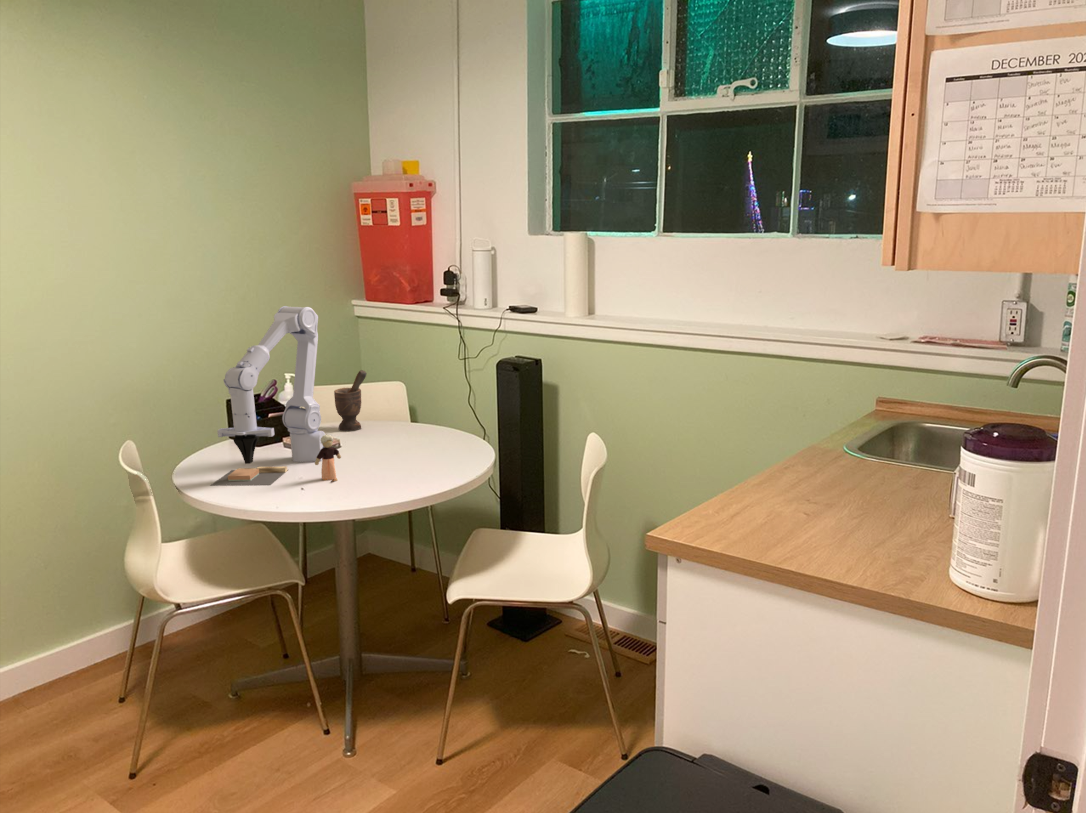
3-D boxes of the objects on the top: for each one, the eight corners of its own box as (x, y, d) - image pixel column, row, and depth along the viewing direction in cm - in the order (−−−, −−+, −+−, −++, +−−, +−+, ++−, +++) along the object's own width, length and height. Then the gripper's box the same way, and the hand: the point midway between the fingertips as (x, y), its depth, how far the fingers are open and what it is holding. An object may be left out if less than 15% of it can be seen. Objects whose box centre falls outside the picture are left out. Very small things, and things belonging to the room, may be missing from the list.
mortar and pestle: (375, 425, 289) (371, 366, 285) (368, 432, 281) (364, 371, 276) (341, 426, 290) (337, 367, 286) (333, 432, 282) (328, 371, 277)
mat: (289, 472, 238) (288, 469, 238) (270, 488, 224) (270, 485, 224) (232, 472, 239) (231, 470, 239) (210, 488, 225) (209, 485, 225)
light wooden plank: (288, 469, 238) (288, 465, 237) (284, 473, 235) (284, 468, 234) (238, 470, 238) (237, 466, 238) (234, 473, 235) (233, 469, 235)
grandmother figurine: (325, 485, 225) (321, 438, 222) (314, 483, 227) (310, 436, 224) (346, 478, 231) (342, 431, 229) (335, 476, 234) (332, 430, 231)
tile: (258, 469, 234) (236, 469, 234) (250, 475, 228) (227, 475, 229) (259, 474, 234) (237, 474, 235) (250, 480, 228) (228, 480, 229)
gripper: (210, 416, 224) (216, 467, 227) (265, 415, 223) (270, 466, 226) (221, 410, 231) (227, 459, 234) (275, 409, 230) (279, 459, 233)
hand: (249, 462), depth 231 cm, fingers closed
